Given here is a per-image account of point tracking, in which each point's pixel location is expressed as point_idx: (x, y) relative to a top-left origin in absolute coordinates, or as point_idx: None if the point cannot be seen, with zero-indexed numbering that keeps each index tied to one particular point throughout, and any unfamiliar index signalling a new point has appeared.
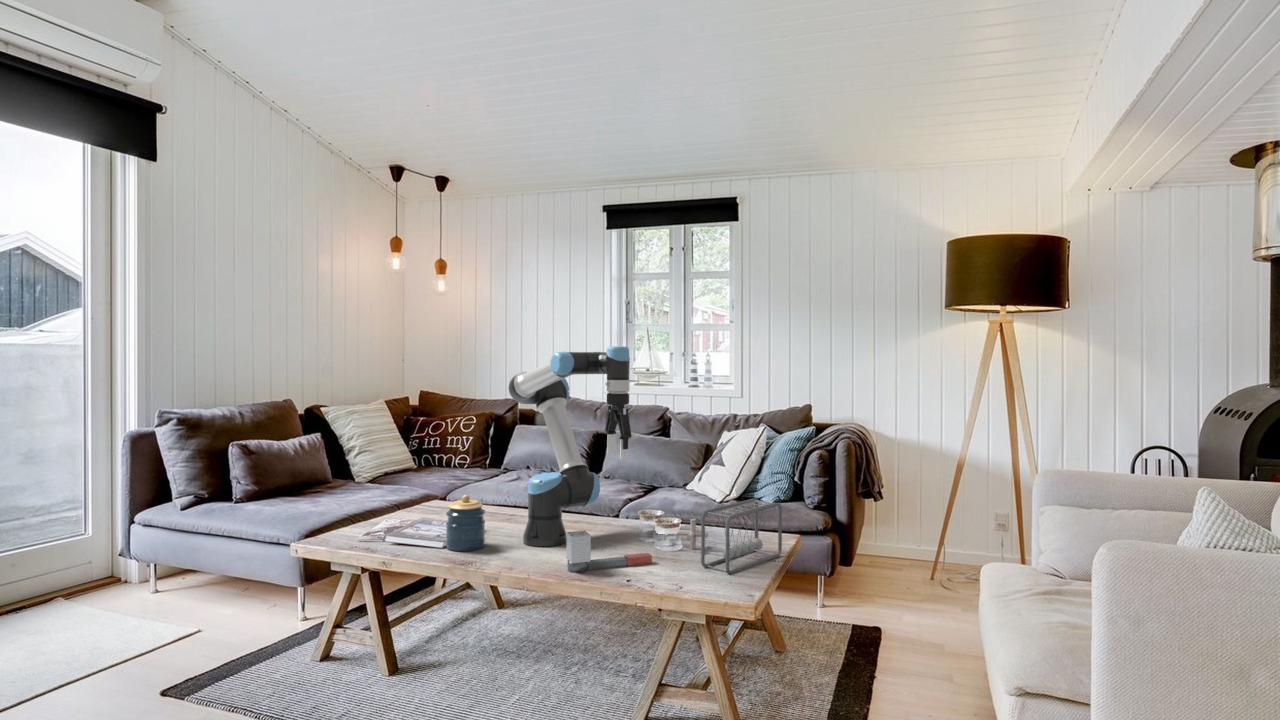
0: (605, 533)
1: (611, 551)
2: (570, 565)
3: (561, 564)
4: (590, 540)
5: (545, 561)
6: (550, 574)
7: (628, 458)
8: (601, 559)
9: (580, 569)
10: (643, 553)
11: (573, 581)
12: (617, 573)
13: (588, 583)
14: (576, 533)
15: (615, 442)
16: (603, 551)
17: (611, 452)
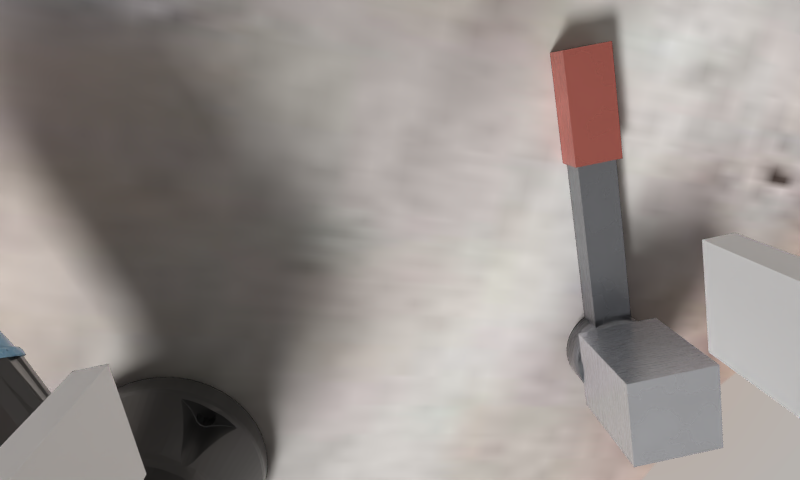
0: (22, 186)
1: (371, 194)
2: None
3: (525, 401)
4: (705, 355)
5: (475, 455)
6: None
7: (738, 237)
8: (598, 267)
9: None
10: (570, 74)
11: None
12: (686, 207)
13: None
14: (671, 425)
15: (13, 475)
16: (366, 229)
17: (124, 433)
